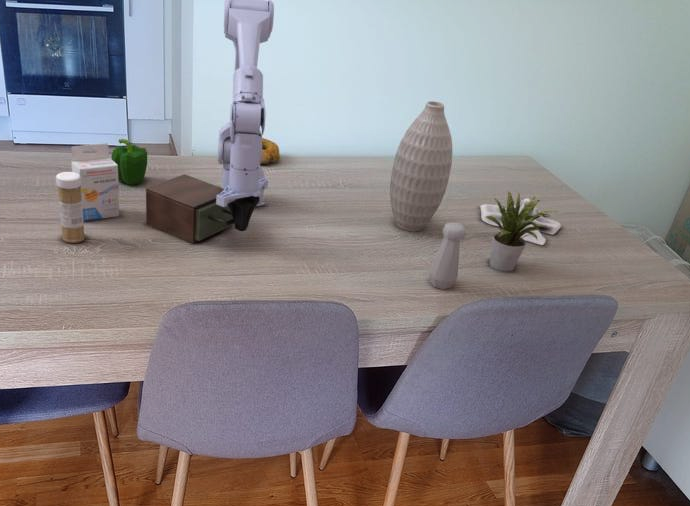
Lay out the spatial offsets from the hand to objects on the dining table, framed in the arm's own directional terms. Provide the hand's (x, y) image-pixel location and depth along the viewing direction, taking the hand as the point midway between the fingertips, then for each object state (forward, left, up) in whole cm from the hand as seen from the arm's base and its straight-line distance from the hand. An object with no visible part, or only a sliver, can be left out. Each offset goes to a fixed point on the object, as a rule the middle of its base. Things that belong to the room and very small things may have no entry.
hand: (240, 229), depth 146 cm
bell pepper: (+5, -41, -4) cm, 41 cm away
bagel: (+2, -12, 0) cm, 13 cm away
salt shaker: (-29, +31, -4) cm, 43 cm away
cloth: (-71, +18, -4) cm, 73 cm away
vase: (-43, +7, -4) cm, 43 cm away
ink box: (+20, -26, -4) cm, 33 cm away
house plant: (-47, +32, -4) cm, 57 cm away
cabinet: (+5, -13, -4) cm, 15 cm away
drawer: (+3, -9, -3) cm, 11 cm away
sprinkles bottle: (+29, -17, -4) cm, 34 cm away
